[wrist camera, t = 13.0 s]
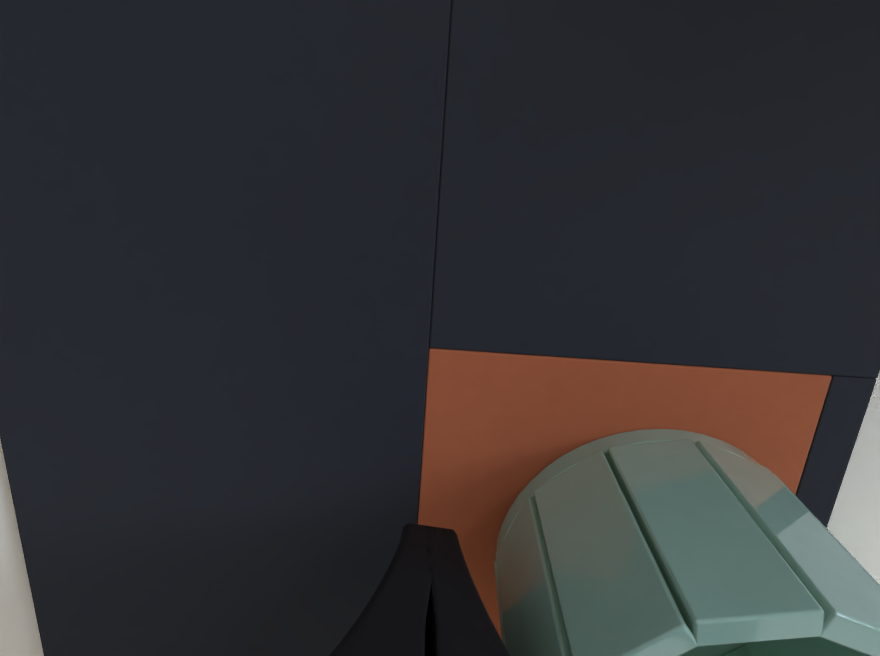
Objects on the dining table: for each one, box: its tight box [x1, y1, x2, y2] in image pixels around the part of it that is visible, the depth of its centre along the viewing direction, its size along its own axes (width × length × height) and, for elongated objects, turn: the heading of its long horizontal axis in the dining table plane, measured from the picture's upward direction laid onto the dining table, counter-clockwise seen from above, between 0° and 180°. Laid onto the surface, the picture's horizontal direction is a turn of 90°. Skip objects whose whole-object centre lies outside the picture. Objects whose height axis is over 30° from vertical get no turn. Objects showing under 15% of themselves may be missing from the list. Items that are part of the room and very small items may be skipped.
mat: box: [0, 0, 880, 656], centre depth 13 cm, size 20×24×1 cm
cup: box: [494, 429, 880, 656], centre depth 12 cm, size 7×7×6 cm
